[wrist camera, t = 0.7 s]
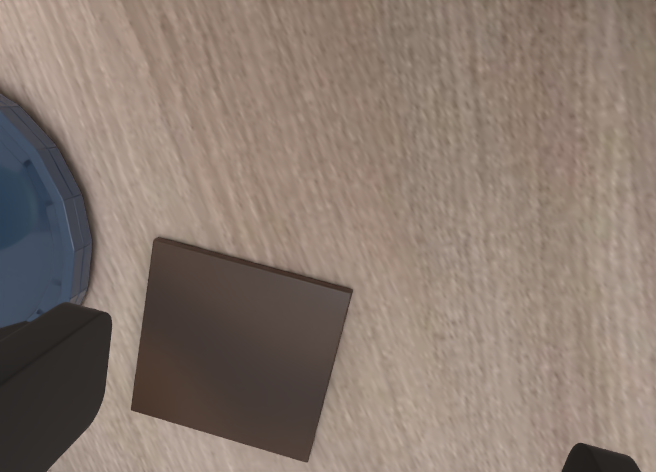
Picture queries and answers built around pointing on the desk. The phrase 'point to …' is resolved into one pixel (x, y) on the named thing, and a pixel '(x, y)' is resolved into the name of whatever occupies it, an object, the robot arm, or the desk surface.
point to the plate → (38, 222)
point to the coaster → (237, 348)
